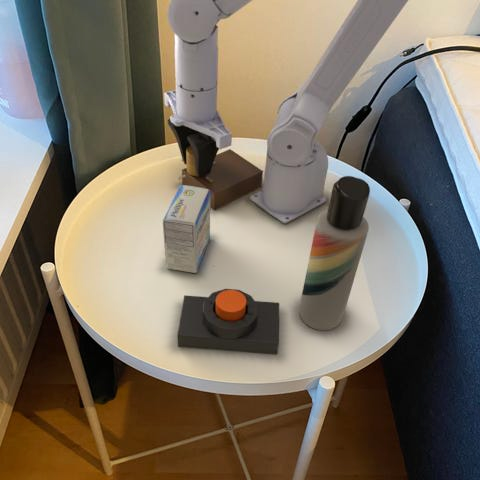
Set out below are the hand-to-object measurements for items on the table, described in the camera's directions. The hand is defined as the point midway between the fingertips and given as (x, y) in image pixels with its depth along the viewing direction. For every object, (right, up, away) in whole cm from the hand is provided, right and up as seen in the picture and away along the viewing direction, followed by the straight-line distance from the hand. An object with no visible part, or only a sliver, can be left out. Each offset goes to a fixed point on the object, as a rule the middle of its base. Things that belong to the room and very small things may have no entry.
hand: (196, 167), depth 85 cm
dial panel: (+2, -2, +3) cm, 4 cm away
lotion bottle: (+17, -23, -14) cm, 32 cm away
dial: (0, 0, 0) cm, 0 cm away
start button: (+6, -23, -20) cm, 30 cm away
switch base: (+5, -25, -17) cm, 30 cm away
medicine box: (-1, -14, -8) cm, 16 cm away
